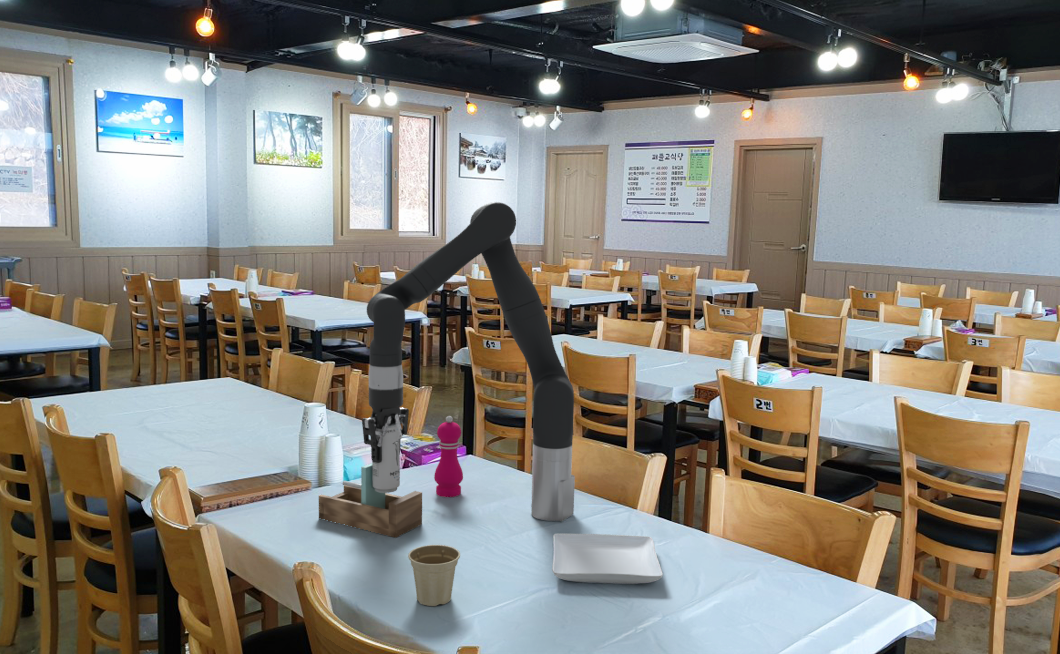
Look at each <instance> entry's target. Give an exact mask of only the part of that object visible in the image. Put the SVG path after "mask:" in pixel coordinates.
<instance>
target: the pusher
mask: <svg viewBox="0 0 1060 654" xmlns="http://www.w3.org/2000/svg"><path fill="white" fill-rule="evenodd" d="M360 468H361V469H360V471H361V475H360V477H361V479H360V481H361V482H360V483H356V482H352V481H347V480H343V481H342V486H344V485H345V486H350V487H355V488H359V489H361V504H365V505H370V506H374V507H379V508H383V509H385V493H380V492H377V491H375V488H374V487H373V481H372V462H371V463H368V464H365V465H363V466H361V467H360Z"/></svg>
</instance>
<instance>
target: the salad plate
mask: <svg viewBox="0 0 1060 654" xmlns="http://www.w3.org/2000/svg"><path fill="white" fill-rule="evenodd" d="M552 541H553V544H552V545H553V558H552V566H551V568H552V569H551V570H552V573H553V574H554V576H556V577H557V578H558V579H560V580H564V581H569V582H575V583H588V584H589V583H590V584H591V583H592V584H593V583H595V584H621V585H622V584H623V585H624V584H626V585H637V584H638V585H639V584H649V583H653V582H656V581H659V580H661V579H662V577H663V576H664V574H663V570H662V567H661V565H660V562H659V558H658V556H657V552H656V547H655V541H654V539H653V537H651V536H646V535H645V536H644V535H627V534H626V535H625V534H604V533H601V534H600V533H554V534H553V537H552Z"/></svg>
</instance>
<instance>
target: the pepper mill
mask: <svg viewBox="0 0 1060 654" xmlns="http://www.w3.org/2000/svg"><path fill="white" fill-rule="evenodd" d="M453 420H454V419H453V417H452V416H451V415H448V416H446V417H445V422H443V423H442V422H441V424H440V425H439V426H438V427H437V430H436V431H437V433H436V434H437V438H438V439H439V441H438V443H439V445H438V446H439V448H440V458H439V462H438V464H437V466H436V467H435V471H434V475H433V476H434V477H433V478H434V482H435V483H436V484H437V485H436V487H435V493H436V495H437V496H438V497H442V498H454V497H458V496H460V495H461V494H462V486H461V485H460V484H461V483H462V481H463V480H464V475H463V474H464V472H463V468H462V466H461V464H460V461H459V459H458V458H459V457H458V448H459V447H460V441H459V439H460V438H461V436H462V429H461V426H460V425H459V424H458V423H457V422H454V421H453Z"/></svg>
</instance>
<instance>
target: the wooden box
mask: <svg viewBox="0 0 1060 654" xmlns="http://www.w3.org/2000/svg"><path fill="white" fill-rule="evenodd" d="M319 518H321V519H325V520H324V521H326V520H328V521H327V522H330V521H332V522H331V523H334V522H336V523H335V524H338V523H340V524H339V525H342V524H345V525H344V526H346V525H348V526H347V527H350V526H352V528H354V527H356V528H355V529H358V528H360V529H359V530H362V529H364V530H363V531H366V530H368V531H367V532H370V531H371V533H374V532H375V533H376V534H378V533H379V535H382V534H383V535H382V536H386V535H387V537H391V538H395V539H396V538H399V537H400V536H402V535H405V534H406V533H408V532H410V531H412V530H414V529H416V528H419V527H420V526H421V525H423V491H417V490H414V491H412V492H409V493H407V494H406V495H404V496H400V495H397V494H391V493H385V509H383V508H379V507H374V506H370V505H365V504H361V489H359V488H355V487H350V486H345V485H343V492H339V493H338V494H335V495H331V496H329V495H325V494H319V495H318V519H319ZM321 519H320V520H321Z"/></svg>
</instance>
